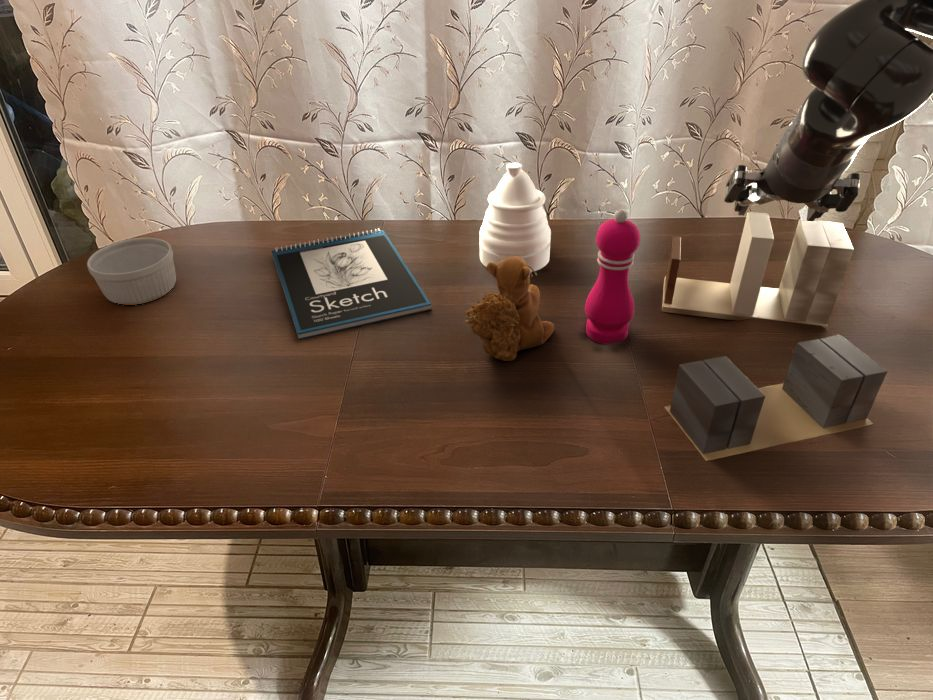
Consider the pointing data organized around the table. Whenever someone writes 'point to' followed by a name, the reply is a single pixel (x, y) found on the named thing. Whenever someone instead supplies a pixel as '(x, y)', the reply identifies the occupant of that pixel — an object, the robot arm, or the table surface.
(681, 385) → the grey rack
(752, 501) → the table surface
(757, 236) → the white book
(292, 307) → the sketchbook
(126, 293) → the ramekin
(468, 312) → the stuffed squirrel
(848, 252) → the white rack
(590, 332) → the pepper mill
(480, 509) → the table surface
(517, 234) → the honey pot
